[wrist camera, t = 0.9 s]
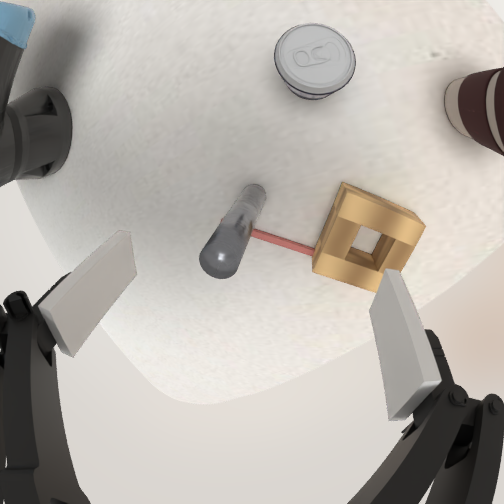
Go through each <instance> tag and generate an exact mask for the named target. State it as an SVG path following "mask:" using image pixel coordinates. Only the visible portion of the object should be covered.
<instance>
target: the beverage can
mask: <svg viewBox="0 0 504 504" xmlns="http://www.w3.org/2000/svg"><path fill="white" fill-rule="evenodd" d="M274 60H275V65H276V68H277V70H278V72H279V74H280V76H281V77H282V79H283V80H284V82H285V83H286V85H287V86H288V88H289V89H290V90H291V91H292V92H293V93H294V94H296V95H297V96H299V97H301V98H304V99H308V100H318V99H322V98H325V97H327V96H329V95H331V94H332V93H334V92H336V91H338V90H340V89H341V88H343V87H344V86H345V85H346V84H347V83H348V82H349V81H350V79H351V78H352V76H353V74H354V71H355V66H356V60H355V54H354V51H353V49H352V47H351V45H350V43H349V42H348V41H347V39H346V38H345V37H344V36H343V35H342V34H340V33H339V32H338V31H337V30H335V29H333V28H331V27H329V26H326V25H323V24H318V23H307V24H302V25H298V26H295V27H293V28H291V29H289V30H288V31H287V32H285V33H284V34H283V35H282V36H281V38H280V39H279V40H278V42H277V44H276V47H275V52H274Z"/></svg>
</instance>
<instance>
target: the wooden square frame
mask: <svg viewBox="0 0 504 504" xmlns="http://www.w3.org/2000/svg"><path fill="white" fill-rule="evenodd" d="M361 225H362V226H365V227H367V228H370V229H373V230H375V231H378V232H380V233H383V234H382V236H381V238H380V240H379V241H378V243H377V245H376V247H375V249H374V251H373V253H372V255H371V254H368V253H366V252H363V251H360V250H358V249H355V248H352V247H351V245H352V243H353V241H354V239H355V237H356V235H357V233H358V230H359V228H360V226H361ZM425 227H426V226H425V224H424V223H423V222H422V221H421V220H420V219H419V218H418V216H417V215H416V214H415V213H414V212H412V211H409V210H407V209H405V208H403V207H401V206H399V205H396V204H394V203H392V202H390V201H387V200H385V199H383V198H381V197H378V196H376V195H374V194H371V193H369V192H366V191H364V190H362V189H359V188H357V187H354V186H352V185H349V184H347V183H344V182H342V184H341V187H340V189H339V192H338V194H337V197H336V199H335V202H334V204H333V206H332V209H331V211H330V214H329V216H328V219H327V221H326V223H325V226H324V228H323V230H322V233H321V235H320V238H319V240H318V242H317V244H316V247H315V252H314V254H313V256H312V272H314V273H317V274H320V275H323V276H326V277H329V278H332V279H335V280H338V281H341V282H344V283H347V284H350V285H353V286H356V287H360V288H363V289H366V290H369V291H372V292H375V293H377V290H378V287H379V285H380V282H381V280H382V277H383V274H384V271H385V268H386V269H393V270H399V271H400V272H401V271H402V269H403V267H404V266H405V264H406V262H407V260H408V259H409V257H410V255H411V253H412V252H413V250H414V248H415V246H416V244H417V243H418V241H419V239H420V237H421V235H422V233H423V231H424V229H425Z"/></svg>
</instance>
